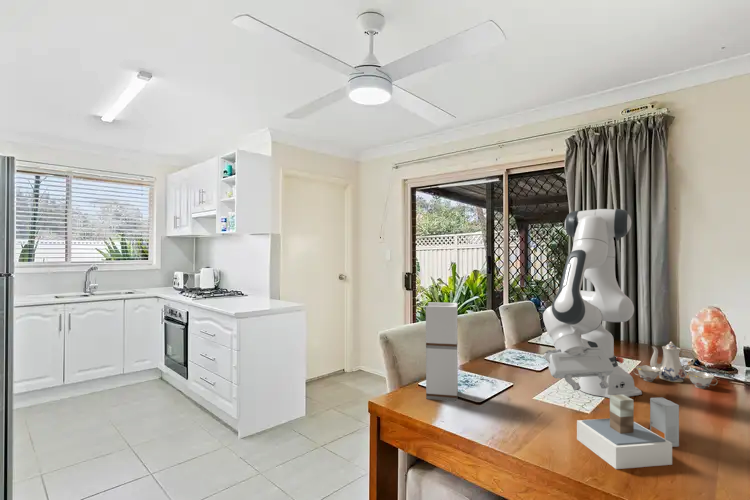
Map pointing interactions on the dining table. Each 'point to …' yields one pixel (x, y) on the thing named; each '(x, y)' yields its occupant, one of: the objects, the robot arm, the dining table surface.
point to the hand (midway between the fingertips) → (591, 388)
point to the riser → (624, 444)
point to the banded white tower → (441, 351)
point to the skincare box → (665, 419)
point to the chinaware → (673, 368)
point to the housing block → (622, 413)
